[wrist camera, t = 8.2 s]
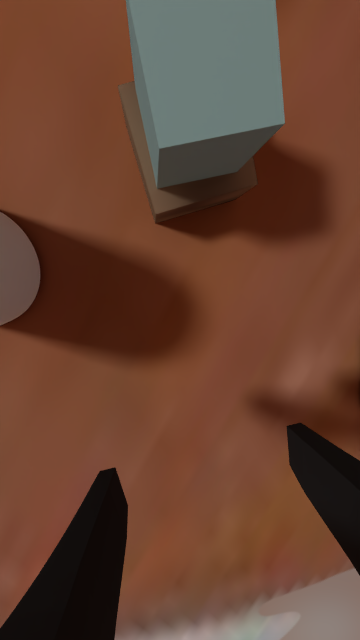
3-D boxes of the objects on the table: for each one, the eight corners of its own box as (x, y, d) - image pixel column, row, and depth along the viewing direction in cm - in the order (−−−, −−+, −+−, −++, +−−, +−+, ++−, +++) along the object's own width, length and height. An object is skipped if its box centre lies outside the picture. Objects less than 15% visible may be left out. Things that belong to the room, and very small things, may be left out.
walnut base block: (214, 102, 16) (234, 52, 12) (234, 200, 17) (257, 183, 13) (126, 128, 15) (117, 85, 12) (155, 223, 17) (155, 214, 13)
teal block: (223, 71, 12) (271, -53, 7) (236, 171, 13) (284, 123, 8) (135, 88, 12) (122, -28, 7) (157, 188, 13) (159, 148, 8)
